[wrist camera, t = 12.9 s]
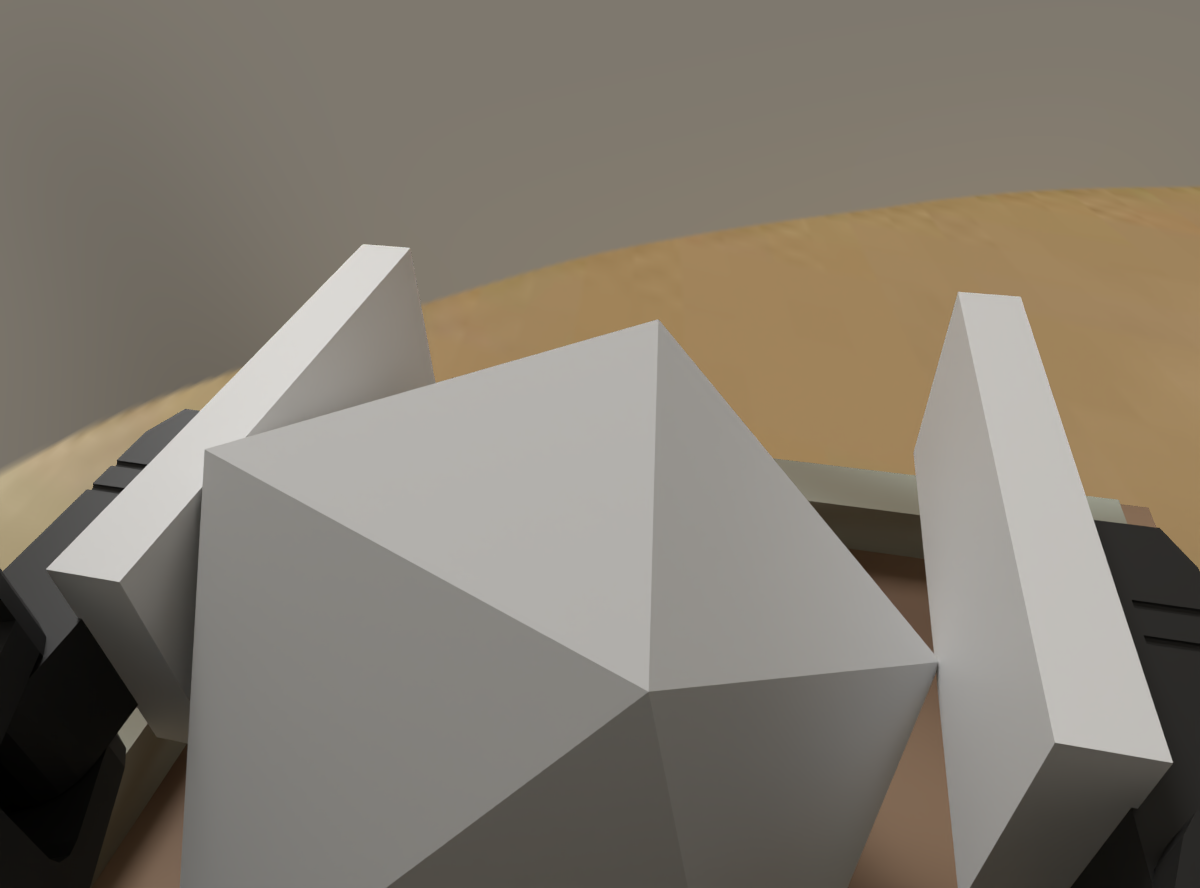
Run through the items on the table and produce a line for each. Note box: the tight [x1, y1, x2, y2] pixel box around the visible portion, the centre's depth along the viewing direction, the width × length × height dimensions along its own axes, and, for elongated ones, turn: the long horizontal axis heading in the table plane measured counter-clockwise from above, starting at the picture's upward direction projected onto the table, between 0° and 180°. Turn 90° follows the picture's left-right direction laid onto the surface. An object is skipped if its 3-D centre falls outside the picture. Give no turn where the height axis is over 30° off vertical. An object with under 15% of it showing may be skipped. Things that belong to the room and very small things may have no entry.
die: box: [180, 320, 938, 888], centre depth 10 cm, size 8×9×10 cm
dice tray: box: [90, 459, 1156, 888], centre depth 12 cm, size 20×20×2 cm
